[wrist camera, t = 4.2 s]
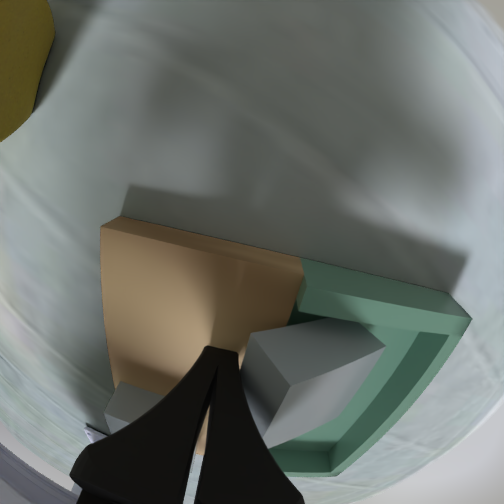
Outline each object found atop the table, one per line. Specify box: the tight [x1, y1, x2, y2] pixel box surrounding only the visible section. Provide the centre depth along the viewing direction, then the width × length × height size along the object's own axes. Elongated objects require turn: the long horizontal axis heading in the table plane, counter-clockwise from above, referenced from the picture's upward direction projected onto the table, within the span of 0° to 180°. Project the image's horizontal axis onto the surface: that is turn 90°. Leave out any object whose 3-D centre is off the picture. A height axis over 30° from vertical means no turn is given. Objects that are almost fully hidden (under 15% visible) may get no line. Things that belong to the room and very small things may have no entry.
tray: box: [269, 258, 472, 477], centre depth 13 cm, size 16×8×2 cm, turn 167°
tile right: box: [240, 317, 386, 449], centre depth 10 cm, size 5×5×2 cm
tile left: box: [103, 381, 200, 473], centre depth 13 cm, size 5×5×2 cm
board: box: [100, 216, 304, 456], centre depth 13 cm, size 16×8×2 cm, turn 167°
